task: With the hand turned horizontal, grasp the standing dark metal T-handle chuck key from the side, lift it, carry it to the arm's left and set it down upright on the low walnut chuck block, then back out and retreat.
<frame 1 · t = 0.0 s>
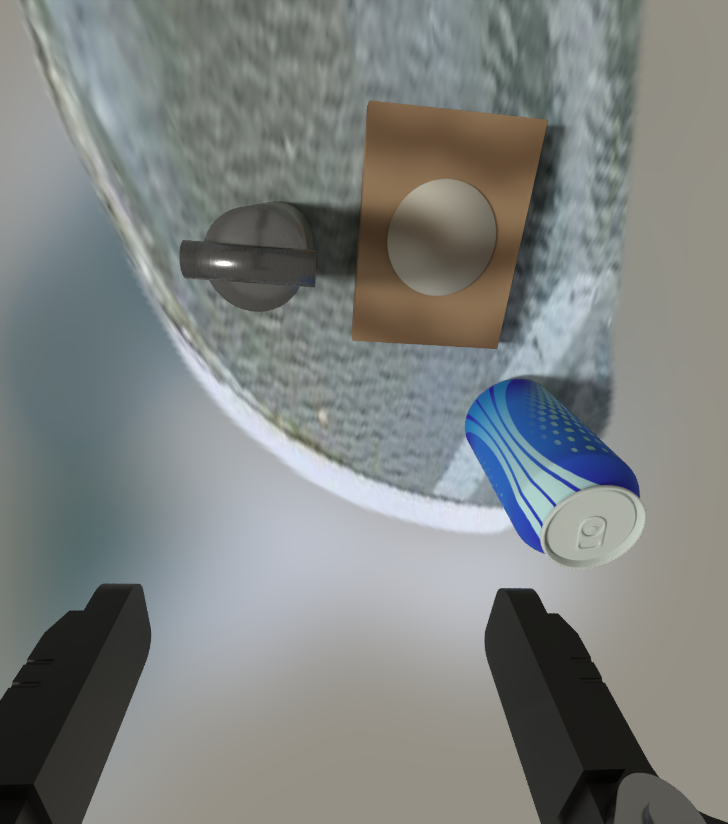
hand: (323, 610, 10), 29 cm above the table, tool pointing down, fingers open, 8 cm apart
beer can: (504, 413, 42), on the table
chuck block: (435, 237, 34), on the table
chuck key: (279, 239, 34), on the table
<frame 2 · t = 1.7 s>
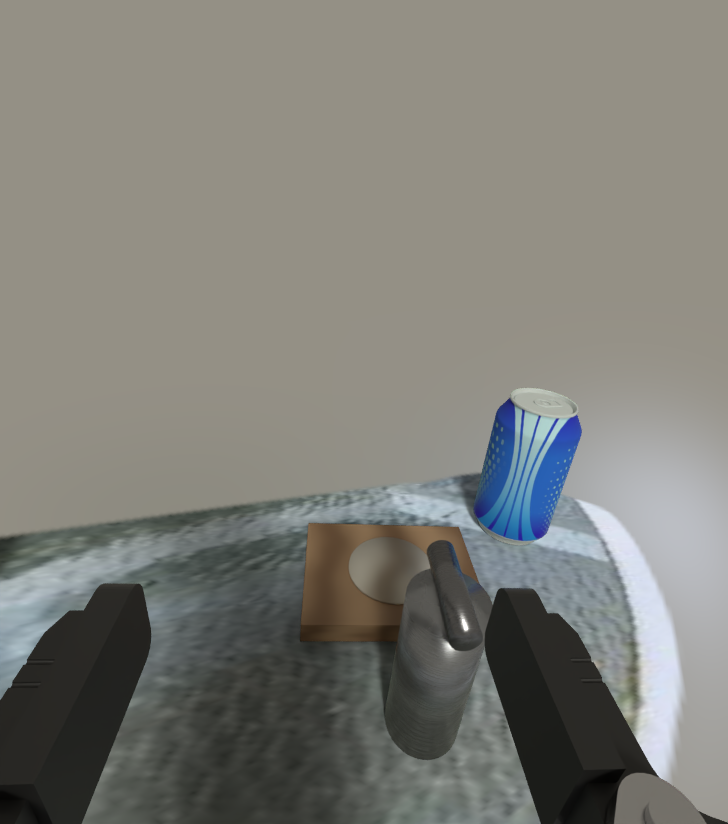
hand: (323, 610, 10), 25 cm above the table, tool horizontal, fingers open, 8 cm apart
beer can: (507, 525, 52), on the table
chuck block: (388, 584, 42), on the table
chuck key: (420, 718, 32), on the table
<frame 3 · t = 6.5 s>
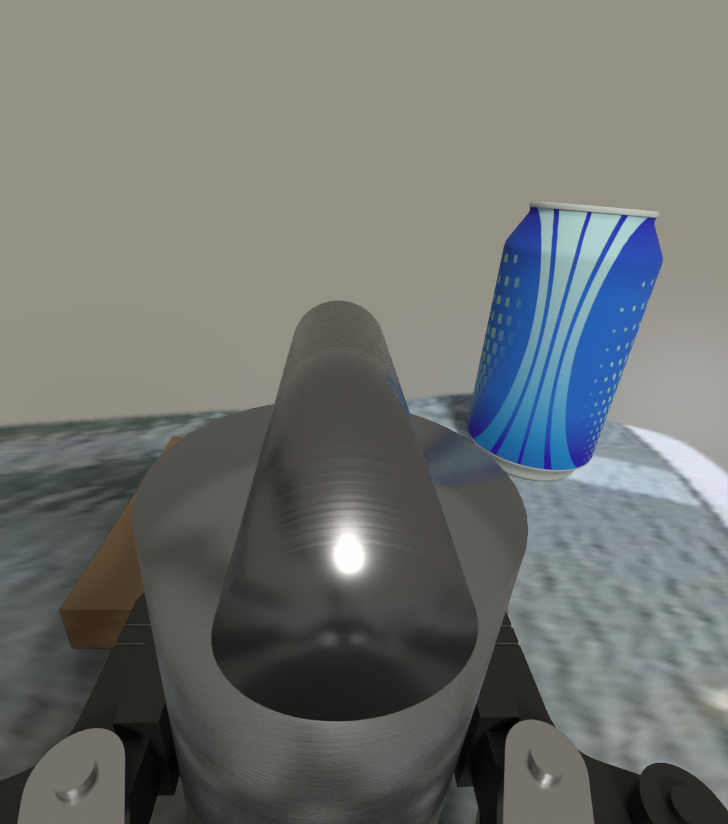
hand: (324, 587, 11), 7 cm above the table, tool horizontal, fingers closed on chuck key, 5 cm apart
beer can: (522, 455, 32), on the table
chuck block: (303, 536, 22), on the table
when the fingers open (10 cm above the table, at t = 10.5 s): chuck key stays where it is, resting on chuck block.
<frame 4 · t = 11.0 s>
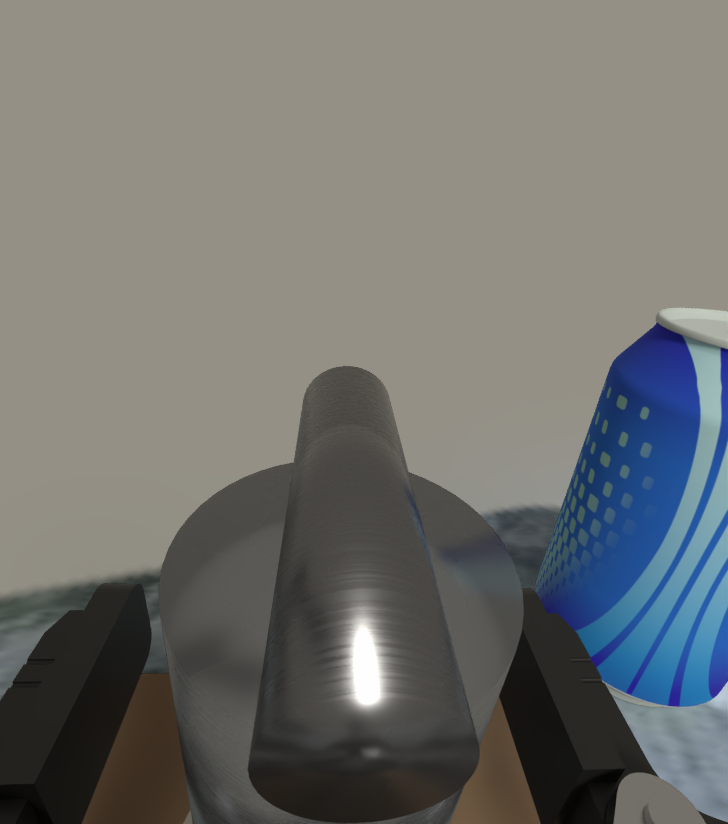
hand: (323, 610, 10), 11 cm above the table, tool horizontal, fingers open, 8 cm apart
beer can: (612, 639, 23), on the table
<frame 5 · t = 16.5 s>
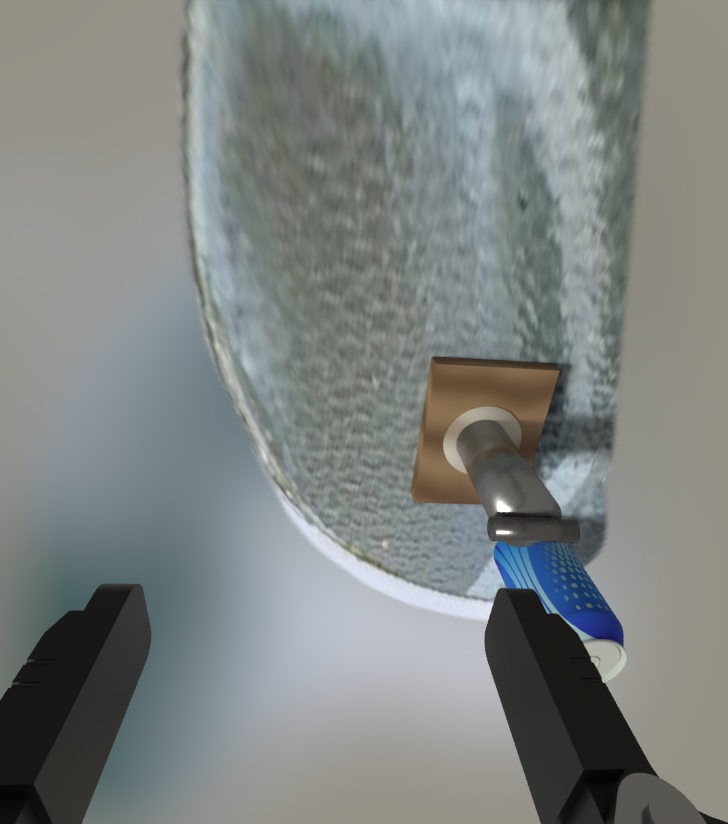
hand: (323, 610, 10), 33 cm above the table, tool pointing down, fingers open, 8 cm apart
beer can: (523, 539, 55), on the table
chuck block: (476, 431, 47), on the table
chuck key: (481, 442, 45), point 2 cm above the table, touching chuck block
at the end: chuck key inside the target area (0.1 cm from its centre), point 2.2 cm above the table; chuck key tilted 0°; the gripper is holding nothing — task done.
